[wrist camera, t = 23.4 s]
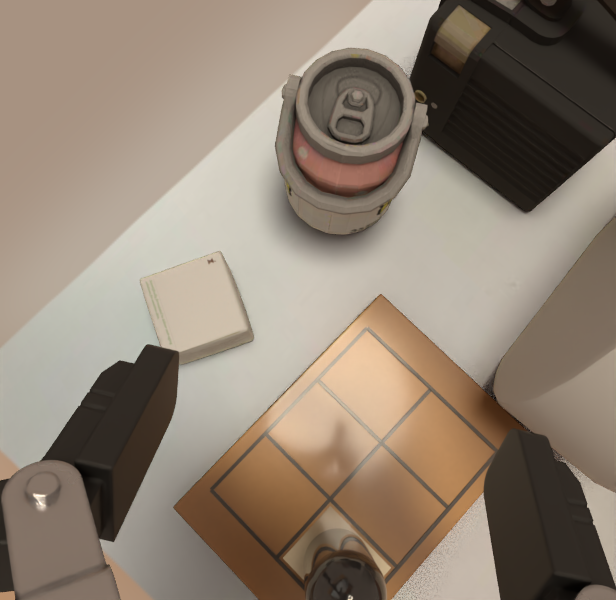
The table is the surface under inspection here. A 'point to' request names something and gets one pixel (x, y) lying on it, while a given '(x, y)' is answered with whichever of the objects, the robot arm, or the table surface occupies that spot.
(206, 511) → the board
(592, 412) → the alarm clock
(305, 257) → the table surface
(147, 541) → the table surface
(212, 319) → the small box
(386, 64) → the beverage can
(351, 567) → the ball
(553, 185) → the camera
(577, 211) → the table surface
